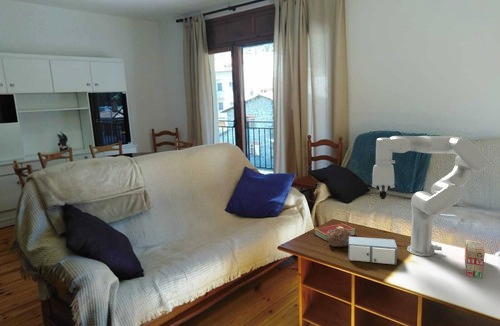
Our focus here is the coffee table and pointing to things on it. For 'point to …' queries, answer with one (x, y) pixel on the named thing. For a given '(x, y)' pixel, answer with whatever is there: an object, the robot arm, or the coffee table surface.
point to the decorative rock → (338, 237)
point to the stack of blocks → (474, 259)
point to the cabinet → (367, 247)
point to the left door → (384, 255)
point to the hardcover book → (323, 231)
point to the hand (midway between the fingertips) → (382, 198)
